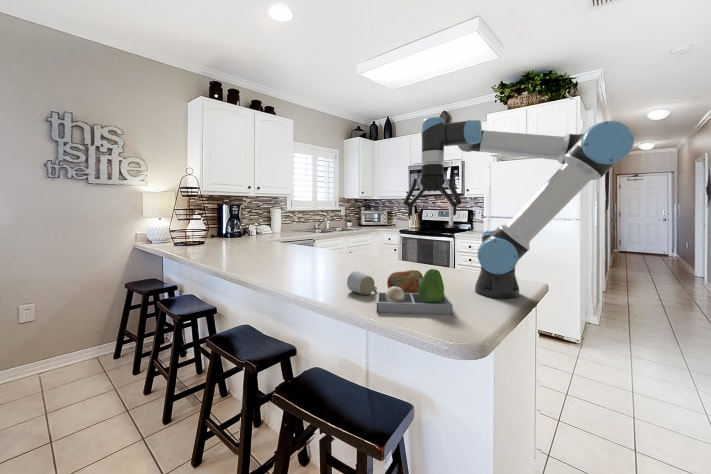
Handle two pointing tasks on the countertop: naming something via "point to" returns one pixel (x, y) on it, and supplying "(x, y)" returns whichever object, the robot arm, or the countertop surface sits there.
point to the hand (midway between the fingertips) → (431, 225)
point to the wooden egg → (395, 295)
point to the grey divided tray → (413, 305)
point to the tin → (405, 280)
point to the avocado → (431, 287)
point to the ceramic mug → (360, 283)
